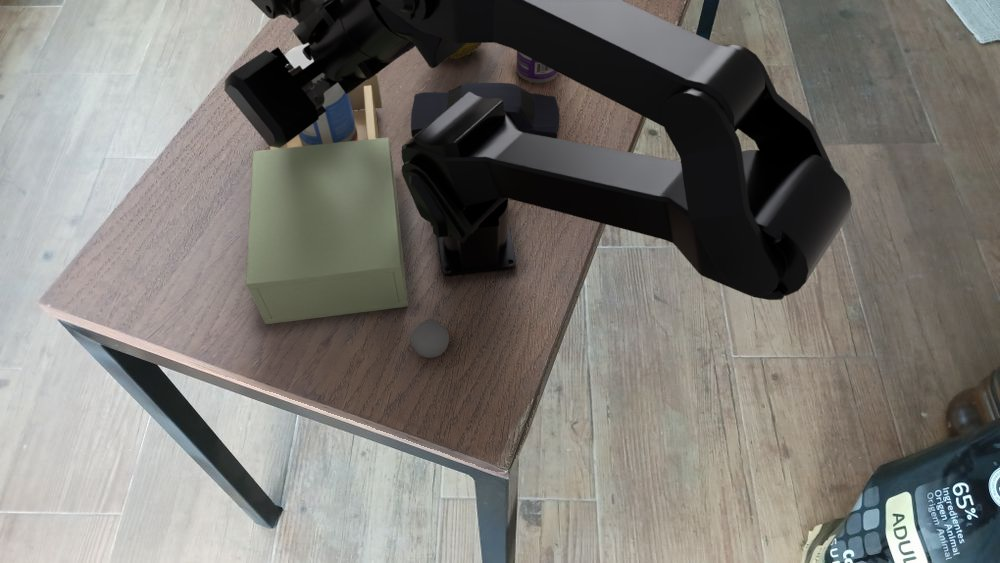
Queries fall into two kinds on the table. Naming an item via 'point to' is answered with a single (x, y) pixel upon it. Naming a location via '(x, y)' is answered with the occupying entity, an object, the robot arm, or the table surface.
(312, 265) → the cabinet
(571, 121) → the table surface
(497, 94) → the toy car
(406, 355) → the table surface
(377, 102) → the drawer
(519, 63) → the container
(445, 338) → the rubber ball
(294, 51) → the pill bottle
